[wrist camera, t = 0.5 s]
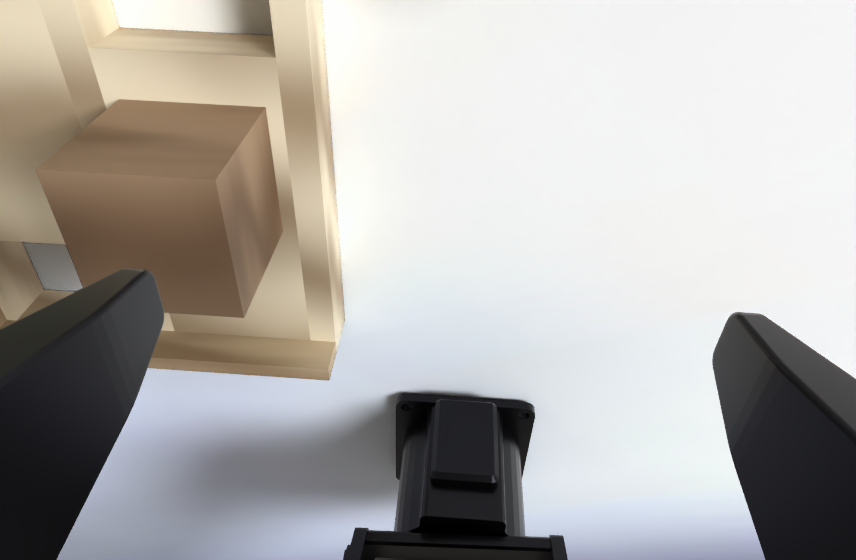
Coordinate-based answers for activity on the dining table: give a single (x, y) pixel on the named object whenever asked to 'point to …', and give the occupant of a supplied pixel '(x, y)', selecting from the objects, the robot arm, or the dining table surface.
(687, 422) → the dining table surface
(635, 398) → the dining table surface
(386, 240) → the dining table surface
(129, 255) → the block
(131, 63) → the trap box
